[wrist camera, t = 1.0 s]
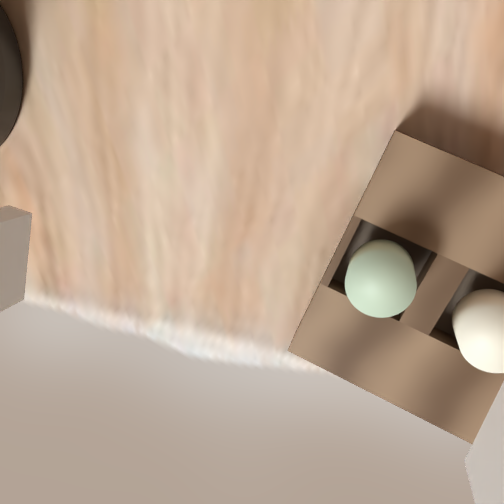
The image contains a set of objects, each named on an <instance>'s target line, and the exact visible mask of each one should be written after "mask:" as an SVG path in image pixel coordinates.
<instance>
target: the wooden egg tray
mask: <svg viewBox="0 0 504 504" xmlns="http://www.w3.org/2000/svg"><path fill="white" fill-rule="evenodd" d="M377 239H384V240H390V241H393V242H396V243H397V244H399V245H401V246H402V247H403V248H404V249H405V250H406V251H407V252H408V253H409V255H410V256H411V258H412V261H413V265H414V270H415V276H416V282H417V289H416V294H415V297H414V299H413V301H412V302H411V304H410V305H409V306H408V307H407V308H406V309H405V310H404V311H402V312H401V313H399V314H397V315H394V316H391V317H385V318H377V317H372V316H369V315H366V314H364V313H362V312H360V311H359V310H358V309H356V308H355V307H354V306H353V305H352V303H351V302H350V300H349V299H348V297H347V294H346V291H345V277H346V273H347V270H348V266H349V262H350V259H351V257H352V255H353V253H354V252H355V251H356V250H357V249H358V248H359V247H360V246H361V245H363V244H364V243H366V242H369V241H372V240H377ZM480 289H495V290H499V291H502V292H504V176H502V175H500V174H497V173H495V172H493V171H490V170H488V169H486V168H483V167H481V166H478V165H476V164H474V163H471V162H469V161H467V160H464V159H462V158H460V157H457V156H455V155H453V154H450V153H448V152H446V151H443V150H441V149H439V148H436V147H434V146H431V145H429V144H427V143H424V142H422V141H420V140H417V139H415V138H413V137H410V136H408V135H406V134H403V133H401V132H399V131H396V130H395V131H394V133H393V135H392V137H391V139H390V141H389V143H388V145H387V147H386V149H385V151H384V153H383V155H382V157H381V159H380V161H379V163H378V166H377V168H376V170H375V172H374V174H373V176H372V178H371V180H370V182H369V184H368V186H367V188H366V190H365V192H364V194H363V196H362V198H361V200H360V202H359V204H358V206H357V208H356V210H355V212H354V214H353V216H352V218H351V221H350V223H349V225H348V227H347V229H346V231H345V233H344V235H343V237H342V239H341V241H340V243H339V245H338V247H337V249H336V251H335V253H334V255H333V257H332V259H331V261H330V263H329V265H328V267H327V269H326V271H325V273H324V276H323V278H322V280H321V282H320V284H319V286H318V288H317V290H316V292H315V294H314V296H313V298H312V300H311V302H310V304H309V306H308V308H307V310H306V312H305V314H304V316H303V318H302V320H301V322H300V324H299V326H298V328H297V330H296V333H295V335H294V337H293V339H292V342H291V344H290V346H289V349H288V351H289V352H291V353H293V354H295V355H297V356H299V357H301V358H303V359H305V360H307V361H309V362H311V363H313V364H315V365H317V366H319V367H321V368H323V369H325V370H327V371H329V372H331V373H333V374H335V375H337V376H339V377H341V378H343V379H345V380H347V381H349V382H350V383H352V384H354V385H356V386H358V387H360V388H362V389H364V390H366V391H368V392H370V393H372V394H374V395H376V396H378V397H380V398H382V399H384V400H386V401H388V402H390V403H392V404H394V405H396V406H398V407H400V408H402V409H404V410H406V411H408V412H410V413H412V414H414V415H416V416H418V417H420V418H422V419H424V420H426V421H427V422H429V423H431V424H433V425H435V426H437V427H439V428H441V429H443V430H445V431H447V432H450V433H451V434H453V435H455V436H457V437H459V438H461V439H463V440H465V441H467V442H469V443H471V444H473V442H474V440H475V438H476V436H477V434H478V432H479V430H480V428H481V426H482V424H483V422H484V420H485V418H486V416H487V414H488V412H489V410H490V408H491V406H492V404H493V402H494V400H495V398H496V396H497V394H498V392H499V390H500V388H501V386H502V383H503V381H504V373H490V372H485V371H482V370H480V369H477V368H476V367H474V366H473V365H471V364H470V363H469V362H468V361H467V360H466V359H465V358H464V357H463V355H462V353H461V351H460V348H459V345H458V342H457V339H456V336H455V333H454V329H453V326H452V313H453V310H454V308H455V306H456V304H457V303H458V302H459V300H460V299H461V298H463V297H464V296H465V295H467V294H469V293H471V292H473V291H476V290H480Z"/></svg>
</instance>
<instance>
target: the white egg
mask: <svg viewBox="0 0 504 504" xmlns="http://www.w3.org/2000/svg"><path fill="white" fill-rule="evenodd" d="M452 326H453V329H454V333H455V336H456V339H457V342H458V345H459V348H460V351H461V353H462V355H463V357H464V358H465V359H466V360H467V361H468V362H469V363H470V364H471V365H473V366H474V367H476V368H477V369H480V370H482V371H485V372H490V373H504V292H502V291H499V290H495V289H480V290H476V291H473V292H471V293H469V294H467V295H465V296H464V297H463V298H461V299H460V300H459V302H458V303H457V304H456V306H455V308H454V310H453V313H452Z"/></svg>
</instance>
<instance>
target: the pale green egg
mask: <svg viewBox="0 0 504 504" xmlns="http://www.w3.org/2000/svg"><path fill="white" fill-rule="evenodd" d="M416 289H417V282H416V276H415V270H414V265H413V261H412V258H411V256H410V255H409V253H408V252H407V251H406V250H405V249H404V248H403V247H402V246H401V245H399V244H397V243H396V242H393V241H390V240H384V239H377V240H372V241H369V242H366V243H364V244H363V245H361V246H360V247H359V248H358V249H357V250H356V251H355V252H354V253H353V255H352V257H351V259H350V262H349V266H348V270H347V273H346V277H345V291H346V294H347V297H348V299H349V300H350V302H351V303H352V305H353V306H354V307H355V308H356V309H358V310H359V311H360V312H362V313H364V314H366V315H369V316H372V317H377V318H385V317H391V316H394V315H397V314H399V313H401V312H402V311H404V310H405V309H406V308H407V307H408V306H409V305H410V304H411V302H412V301H413V299H414V297H415V294H416Z"/></svg>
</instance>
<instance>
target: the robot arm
mask: <svg viewBox="0 0 504 504" xmlns="http://www.w3.org/2000/svg"><path fill="white" fill-rule="evenodd" d="M22 84H23V77H22V64H21V57H20V52H19V48H18V44H17V40H16V37H15V34H14V32H13V29H12V26H11V24H10V22H9V20H8V18H7V16H6V14H5V12H4V10H3V9H2V7H1V6H0V145H1V144H2V143H3V142H4V140H5V139H6V138H7V136H8V135H9V133H10V131H11V129H12V127H13V125H14V123H15V120H16V118H17V115H18V111H19V107H20V103H21V97H22ZM31 220H32V213H30V212H27V211H24V210H21V209H18V208H15V207H12V206H9V205H8V206H5V207H1V208H0V312H1V311H3V310H5V309H7V308H9V307H11V306H12V305H14V304H16V303H18V302H20V301H22V300H24V293H25V283H26V272H27V262H28V251H29V241H30V230H31ZM464 461H465V466H466V469H467V474H468V478H469V482H470V485H471V490H472V493H473V498H474V502H475V504H504V381H503V383H502V386H501V388H500V390H499V392H498V394H497V396H496V398H495V400H494V402H493V404H492V406H491V408H490V410H489V412H488V414H487V416H486V418H485V420H484V422H483V424H482V426H481V428H480V430H479V432H478V434H477V436H476V438H475V440H474V442H473V444H472V446H471V448H470V450H469V452H468V454H467V456H466V458H465V460H464Z"/></svg>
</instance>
